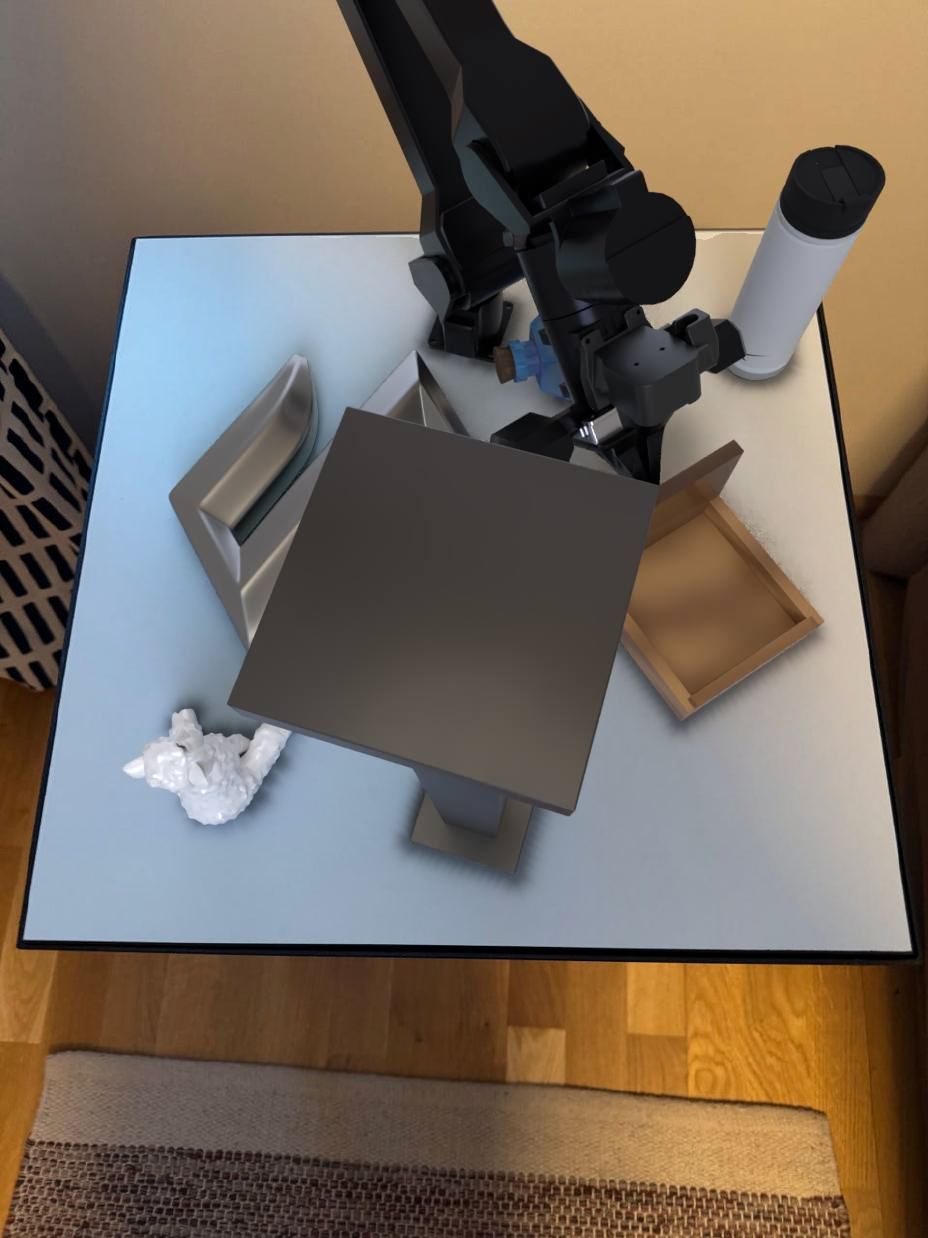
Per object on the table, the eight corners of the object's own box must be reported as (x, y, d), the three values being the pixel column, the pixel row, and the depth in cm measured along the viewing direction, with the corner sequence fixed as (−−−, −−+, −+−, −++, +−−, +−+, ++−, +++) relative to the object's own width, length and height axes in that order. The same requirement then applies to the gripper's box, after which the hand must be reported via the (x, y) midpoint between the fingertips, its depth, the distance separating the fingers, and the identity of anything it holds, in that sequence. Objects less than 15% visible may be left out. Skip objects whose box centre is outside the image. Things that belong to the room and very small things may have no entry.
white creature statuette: (298, 719, 65) (257, 681, 54) (282, 832, 63) (236, 817, 51) (179, 711, 66) (114, 672, 54) (158, 823, 63) (85, 806, 52)
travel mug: (730, 390, 74) (814, 214, 55) (709, 329, 76) (782, 139, 57) (799, 377, 74) (906, 197, 55) (775, 316, 76) (870, 123, 57)
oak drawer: (574, 580, 68) (588, 529, 59) (701, 500, 70) (734, 438, 61) (680, 721, 64) (712, 691, 55) (811, 633, 66) (864, 588, 57)
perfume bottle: (616, 328, 76) (488, 358, 75) (626, 281, 70) (488, 312, 70) (637, 385, 74) (506, 415, 74) (650, 340, 68) (507, 373, 68)
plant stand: (443, 740, 65) (346, 404, 21) (543, 770, 64) (660, 485, 20) (410, 842, 62) (225, 704, 19) (514, 875, 61) (575, 811, 18)
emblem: (187, 328, 71) (516, 340, 70) (208, 366, 76) (514, 378, 75) (124, 644, 62) (499, 664, 61) (151, 663, 67) (498, 682, 66)
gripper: (514, 377, 47) (605, 597, 55) (772, 228, 50) (826, 456, 57) (447, 365, 57) (531, 553, 64) (666, 240, 60) (723, 434, 67)
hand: (651, 500), depth 63 cm, fingers closed
